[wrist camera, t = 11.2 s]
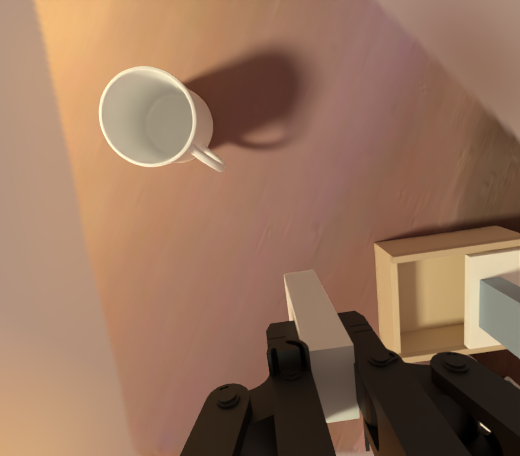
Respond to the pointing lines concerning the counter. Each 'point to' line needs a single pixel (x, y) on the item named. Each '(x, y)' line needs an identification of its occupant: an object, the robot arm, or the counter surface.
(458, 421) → the robot arm
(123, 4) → the counter surface
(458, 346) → the box
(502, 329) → the lid
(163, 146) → the mug
